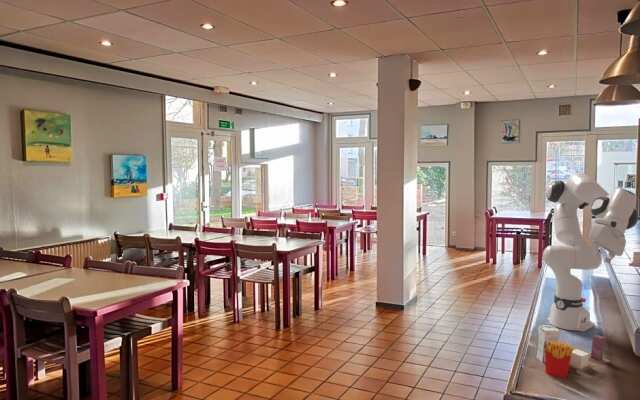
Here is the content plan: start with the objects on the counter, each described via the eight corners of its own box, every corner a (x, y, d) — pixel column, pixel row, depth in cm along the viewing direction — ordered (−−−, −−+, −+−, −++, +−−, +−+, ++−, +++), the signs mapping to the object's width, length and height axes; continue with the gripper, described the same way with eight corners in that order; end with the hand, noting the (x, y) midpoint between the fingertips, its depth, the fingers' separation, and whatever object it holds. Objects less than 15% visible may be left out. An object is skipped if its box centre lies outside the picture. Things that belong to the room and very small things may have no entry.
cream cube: (575, 361, 200) (576, 349, 199) (587, 366, 195) (589, 353, 195) (568, 363, 197) (569, 351, 196) (580, 368, 193) (581, 356, 192)
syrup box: (549, 359, 203) (552, 324, 202) (556, 366, 197) (559, 330, 196) (535, 359, 203) (538, 324, 201) (542, 365, 197) (545, 329, 196)
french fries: (542, 376, 188) (545, 342, 187) (544, 371, 192) (547, 338, 190) (569, 382, 183) (573, 348, 182) (571, 378, 187) (574, 344, 186)
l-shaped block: (590, 355, 208) (593, 332, 207) (610, 363, 201) (613, 339, 200) (555, 367, 196) (558, 342, 194) (575, 375, 189) (578, 350, 188)
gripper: (618, 234, 211) (606, 265, 210) (592, 216, 201) (580, 248, 200) (633, 237, 206) (621, 268, 205) (608, 219, 196) (595, 251, 195)
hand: (600, 258), depth 202 cm, fingers open, 8 cm apart
